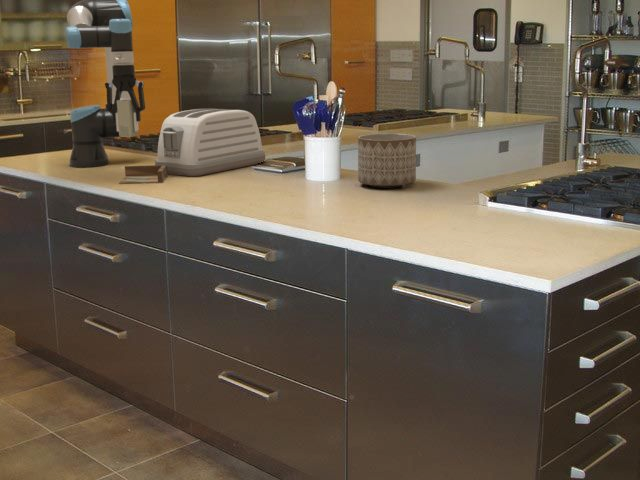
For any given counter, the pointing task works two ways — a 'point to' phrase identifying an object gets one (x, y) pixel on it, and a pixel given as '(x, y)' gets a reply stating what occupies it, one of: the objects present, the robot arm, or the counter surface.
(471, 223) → the counter surface
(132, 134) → the box
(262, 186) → the counter surface
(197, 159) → the toaster
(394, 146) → the planter
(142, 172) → the arena
